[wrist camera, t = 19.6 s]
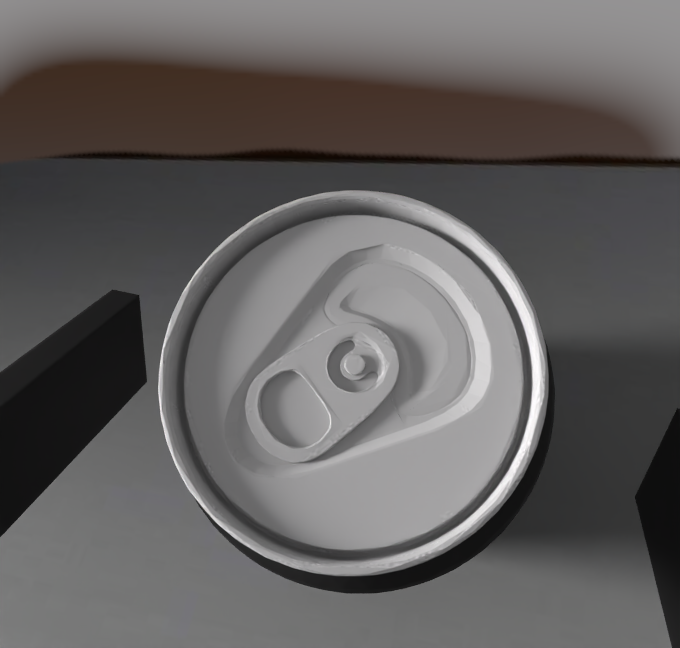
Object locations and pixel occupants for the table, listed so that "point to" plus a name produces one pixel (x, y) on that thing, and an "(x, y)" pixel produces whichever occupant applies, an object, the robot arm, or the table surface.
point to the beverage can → (357, 391)
